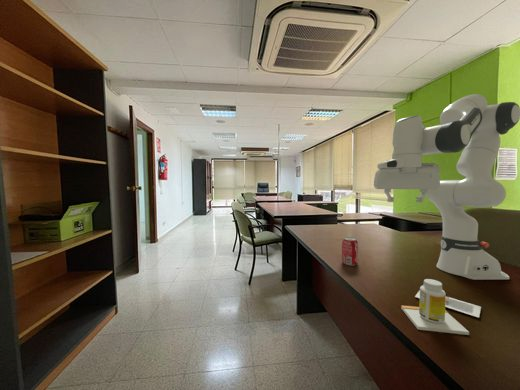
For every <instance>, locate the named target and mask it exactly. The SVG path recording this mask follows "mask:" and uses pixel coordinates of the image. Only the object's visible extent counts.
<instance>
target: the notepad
mask: <svg viewBox="0 0 520 390" xmlns="http://www.w3.org/2000/svg"><path fill="white" fill-rule="evenodd" d="M400 306H401V307H400V308H401V310H402V311H403V312H404V313H405V315H406V316H407V318H408V319H409V320H410V322H411V323H412V324H413V325H414V326H415V328H416V329H417V330H420V331H429V332H438V333H449V334H455V335H456V334H457V335H467V336H469V335H470V331H469V330H467V329H466V327H464V326H463V325H462V324H461V323H460V322H459V321H458V320H456V318H454V317H453V316H452V315H451V314H450V313H449V312H448V311H447V310H446V309H445V321H444V322H443V323H433V322H430V321H427V320H425V319H424V318H422V317H421V316H420V314H419V306H413V305H400Z"/></svg>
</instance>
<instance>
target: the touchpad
mask: <svg viewBox="0 0 520 390" xmlns="http://www.w3.org/2000/svg"><path fill="white" fill-rule="evenodd" d="M414 298H418V299H420V289H419V290H418V291H417V293H416V294H415V296H414ZM445 308H448V309H451V310H453V311H457V312H460V313H462V314H463V313H464V314H466V315H470V316H472V317H476V318H480V316H481V315H480V314H481V311H482V310H481V309H482V306H480V305H476V304H473V303H469V302H466V301H463V300H458V299H456V298H454V297H450V296H446V301H445Z"/></svg>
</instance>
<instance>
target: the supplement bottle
mask: <svg viewBox="0 0 520 390" xmlns="http://www.w3.org/2000/svg"><path fill="white" fill-rule="evenodd" d="M419 290H420V298H419V305H418V307H419V314H420V316H421V317H422V318H424V319H425V320H427V321H430V322H433V323H443V322H444V321H445V310H446V307H445V301H446V292H445V290H443V283H442V282H441V281H439V280H436V279H432V278H431V279H430V278H425V279H424V280H423V285H421V286H420V287H419Z"/></svg>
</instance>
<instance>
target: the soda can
mask: <svg viewBox="0 0 520 390" xmlns="http://www.w3.org/2000/svg"><path fill="white" fill-rule="evenodd" d="M341 262H342V263H343V264H344V265H346V266H350V267H353V266H356V265H358V262H359V241H358V238H356V237H352V236H351V237H350V236H345V237H343V240H342V242H341Z"/></svg>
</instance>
